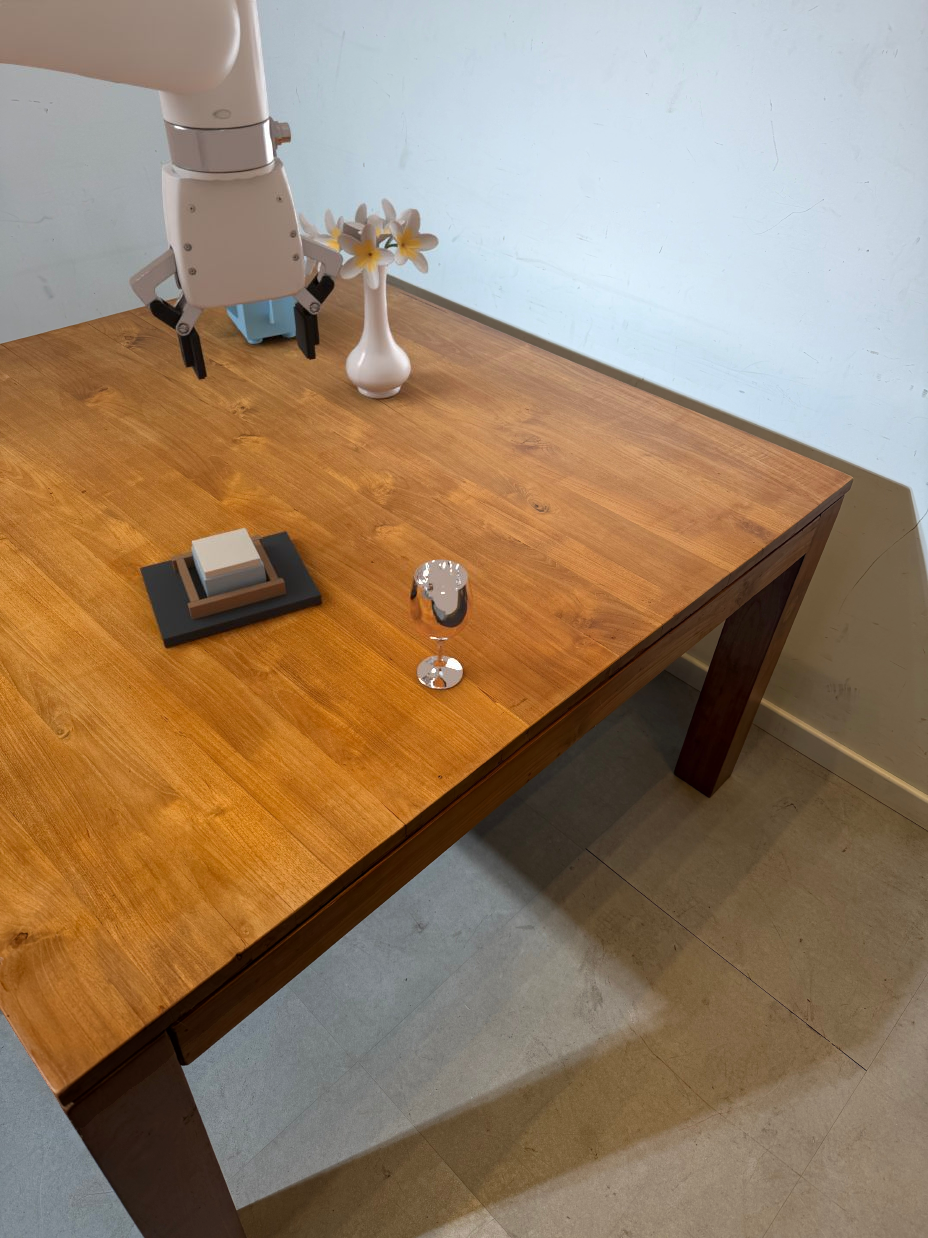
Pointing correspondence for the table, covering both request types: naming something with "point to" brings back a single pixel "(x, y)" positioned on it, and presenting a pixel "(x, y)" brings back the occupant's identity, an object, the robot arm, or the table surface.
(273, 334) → the teapot
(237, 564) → the upper pad
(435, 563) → the wineglass
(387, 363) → the flower vase
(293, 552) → the base pad
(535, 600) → the table surface
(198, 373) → the robot arm
